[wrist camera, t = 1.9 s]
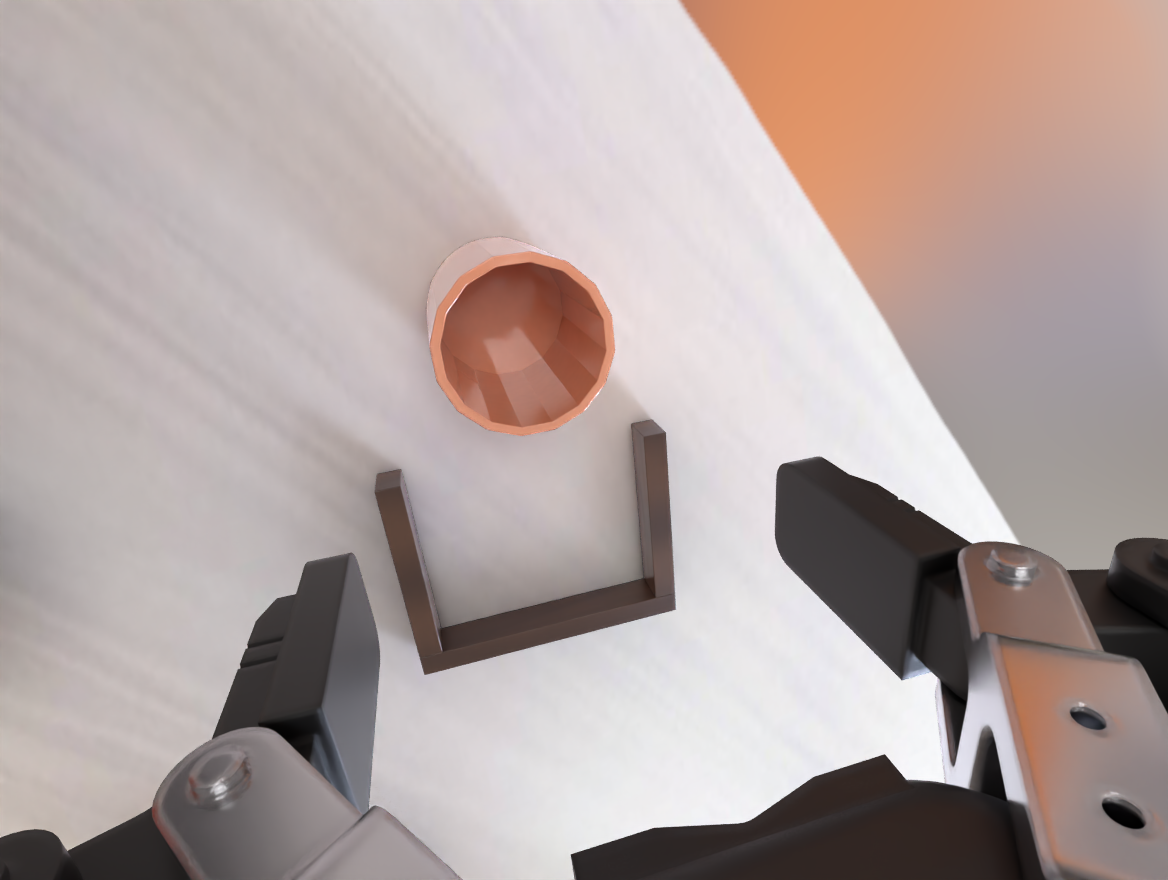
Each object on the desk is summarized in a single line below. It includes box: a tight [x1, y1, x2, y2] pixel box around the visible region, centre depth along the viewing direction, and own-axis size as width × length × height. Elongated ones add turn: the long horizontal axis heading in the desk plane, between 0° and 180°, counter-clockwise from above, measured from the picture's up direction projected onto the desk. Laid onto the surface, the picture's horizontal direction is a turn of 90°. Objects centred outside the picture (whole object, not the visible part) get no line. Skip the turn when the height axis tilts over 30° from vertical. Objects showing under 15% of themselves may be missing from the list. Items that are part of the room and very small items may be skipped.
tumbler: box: [426, 237, 615, 436], centre depth 25 cm, size 6×6×8 cm
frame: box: [375, 420, 676, 675], centre depth 33 cm, size 11×14×2 cm
